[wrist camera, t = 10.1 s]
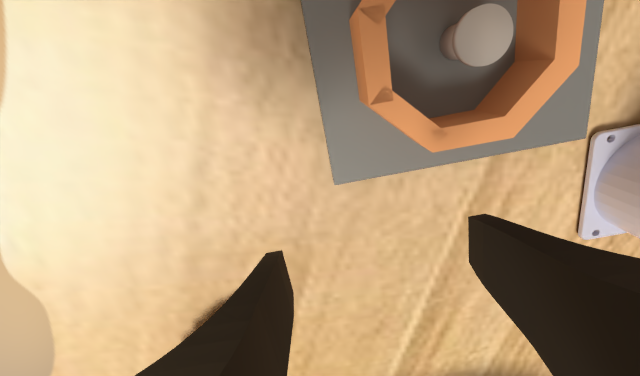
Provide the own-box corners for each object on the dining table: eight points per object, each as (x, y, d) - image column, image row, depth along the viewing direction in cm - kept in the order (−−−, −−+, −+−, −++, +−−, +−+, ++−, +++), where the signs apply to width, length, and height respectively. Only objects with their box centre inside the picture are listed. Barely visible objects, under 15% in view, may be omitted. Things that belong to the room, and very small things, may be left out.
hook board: (605, -143, 15) (704, -216, 11) (573, 135, 20) (634, 149, 16) (287, -74, 15) (280, -121, 12) (333, 180, 20) (338, 203, 17)
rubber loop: (545, -90, 15) (601, -128, 12) (531, 118, 18) (571, 127, 16) (340, -47, 15) (347, -75, 12) (365, 149, 19) (375, 163, 16)
